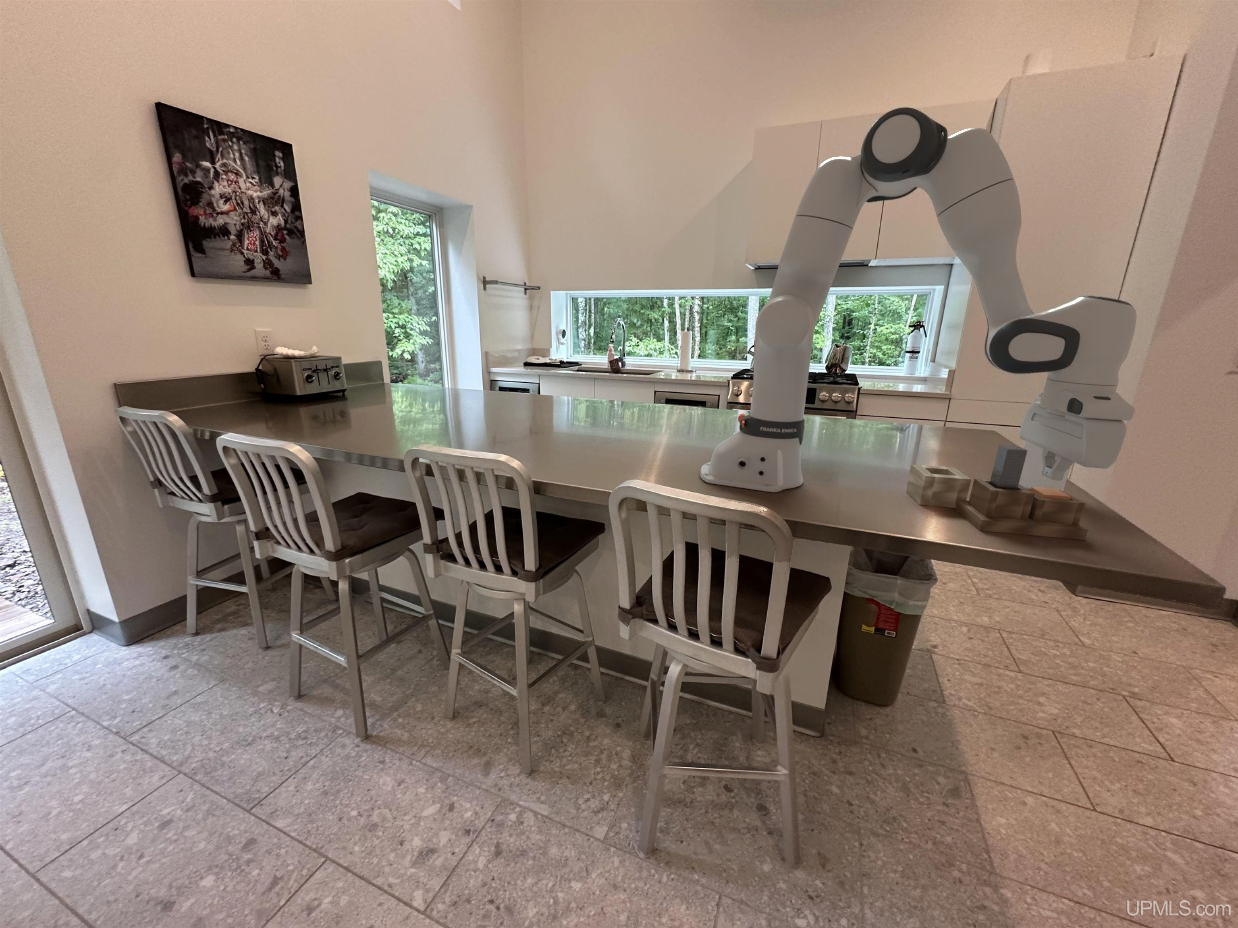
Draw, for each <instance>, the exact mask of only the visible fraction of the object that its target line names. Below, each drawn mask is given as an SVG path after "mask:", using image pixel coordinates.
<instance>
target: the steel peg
mask: <svg viewBox="0 0 1238 928" xmlns="http://www.w3.org/2000/svg"><path fill="white" fill-rule="evenodd" d="M1027 451H1028V450H1025V449H1024V447H1020V446H1019V445H1006V444H1004V445H1003V444H1002V445H1001V444H999V445H998V448H997V451H996V455H995V460H994V464H993V467H992V472H991V476H990V479H989V480H990V485H992V486H993V487H995V488H997V489H1010V490H1017V489H1018V485H1019V481H1020V477H1021V473H1022V470H1023V466H1024V462H1025V458H1026V455H1027Z"/></svg>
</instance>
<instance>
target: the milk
mask: <svg viewBox="0 0 1238 928" xmlns="http://www.w3.org/2000/svg"><path fill="white" fill-rule="evenodd" d="M1024 441H1025V440H1024ZM1023 449H1025V450H1028V451H1027V455H1026V458H1025V462H1024V466H1023V470H1022V473H1021V477H1020V481H1019V484H1020V485H1021V486H1023V487H1028V488H1031V487H1037V488H1050V489H1058V490H1061V491H1063V492H1064V490H1065V486H1066V483H1067V480H1068V476H1069V473H1070V470H1071V467H1070V468H1069V469H1068V470H1067V471H1065V474H1064V477H1063V479H1062V480H1061V481H1057V480H1052V479H1050V478H1048V477H1046V476H1044V475H1042V469H1043V466H1044V465H1043V459H1042V452H1043V448H1041V447H1038V446H1036V445H1034V444H1031V443H1029V442H1027V441H1025V442H1024V445H1023Z"/></svg>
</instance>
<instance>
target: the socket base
mask: <svg viewBox="0 0 1238 928" xmlns="http://www.w3.org/2000/svg"><path fill="white" fill-rule="evenodd" d="M1030 490H1031V488H1028V487H1023V486H1021V485H1020V484H1019V485H1018V489H1017V490H1010V489H997V488H995V487H993V486H992V485H990V479H987V478H976V477H975V478H973V481H972V486H971V491H970V495H969V499H968V500H957V504H956V508H954V509H955V511H956V512H957V513H959V514H960V515H961V516H962V517H963V518H964V519H965V520H967V521H968V522H969V523H970V524H971V525H973V527H975V528H976V529H977V530H979V531H981V532H982V531H983V532H993V533H1003V534H1016V535H1024V536H1037V537H1047V538H1056V539H1057V538H1058V539H1069V540H1070V539H1071V540H1079V541H1080V540H1081V541H1082V540H1083V541H1085V540H1086V539H1087V536H1088V532H1089V530H1090V529H1089V528H1088V527H1086V526H1084V525H1083V524H1080V520H1081V518H1082V514H1083V511H1084V509H1085V505H1086V503H1085V502H1084V501H1082V500H1080V499H1078V498H1076V497H1074V496H1072V495H1070V494H1068V493H1067V492H1065V491H1064V490H1063V491H1061V490H1060V491H1061V492H1063V493H1065V494H1067V495H1069V496H1071V499H1070V500H1061V499H1048V498H1041V497H1040V496H1038V495H1036V494H1035V493H1033V492H1032V491H1030Z"/></svg>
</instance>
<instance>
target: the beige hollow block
mask: <svg viewBox="0 0 1238 928" xmlns="http://www.w3.org/2000/svg"><path fill="white" fill-rule="evenodd" d="M971 483H972V479H971V478H970V477H969V476H967V475H966V474H964V473H962V471H960V470H958V469H957V468H956V467H951V466H939V465H925V464H924V465H923V464H911V465H910V470H909V475H908V480H907V485H906V489H905V492H906V493H907V494H908V495H909V496H910V497H911V498H912V499H913V500H914V501H915V502H916V503H917V504H918V505H919V506H928V507H931V506H932V507H940V508H954V509H955V508H956V504H957V500H966V501H968V499H967V498H968V495H969V490H970V485H971Z"/></svg>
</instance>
